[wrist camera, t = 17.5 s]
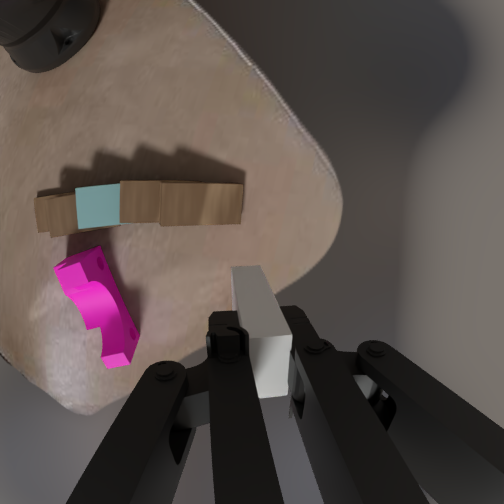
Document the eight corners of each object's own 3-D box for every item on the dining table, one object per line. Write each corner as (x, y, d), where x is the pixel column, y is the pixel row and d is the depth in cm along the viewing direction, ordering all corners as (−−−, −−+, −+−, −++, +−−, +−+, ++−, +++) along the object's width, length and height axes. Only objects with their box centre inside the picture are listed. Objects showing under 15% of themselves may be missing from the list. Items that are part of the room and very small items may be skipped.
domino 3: (153, 181, 35) (75, 188, 31) (155, 220, 36) (78, 229, 32) (152, 180, 36) (76, 187, 32) (153, 218, 38) (79, 226, 33)
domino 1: (99, 224, 38) (43, 230, 36) (95, 188, 36) (39, 196, 35) (95, 226, 36) (37, 232, 35) (91, 189, 35) (33, 198, 33)
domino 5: (235, 221, 39) (159, 223, 35) (238, 183, 38) (160, 182, 34) (240, 224, 38) (161, 226, 34) (243, 184, 37) (162, 183, 32)
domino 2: (120, 223, 37) (53, 235, 34) (116, 186, 36) (48, 198, 32) (120, 225, 36) (50, 237, 32) (116, 187, 34) (44, 200, 31)
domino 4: (196, 219, 39) (119, 220, 34) (198, 180, 37) (120, 180, 33) (199, 221, 37) (119, 223, 33) (202, 181, 36) (120, 180, 32)
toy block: (66, 257, 38) (43, 275, 31) (100, 244, 38) (79, 262, 31) (107, 343, 42) (93, 371, 35) (140, 335, 43) (130, 364, 36)
